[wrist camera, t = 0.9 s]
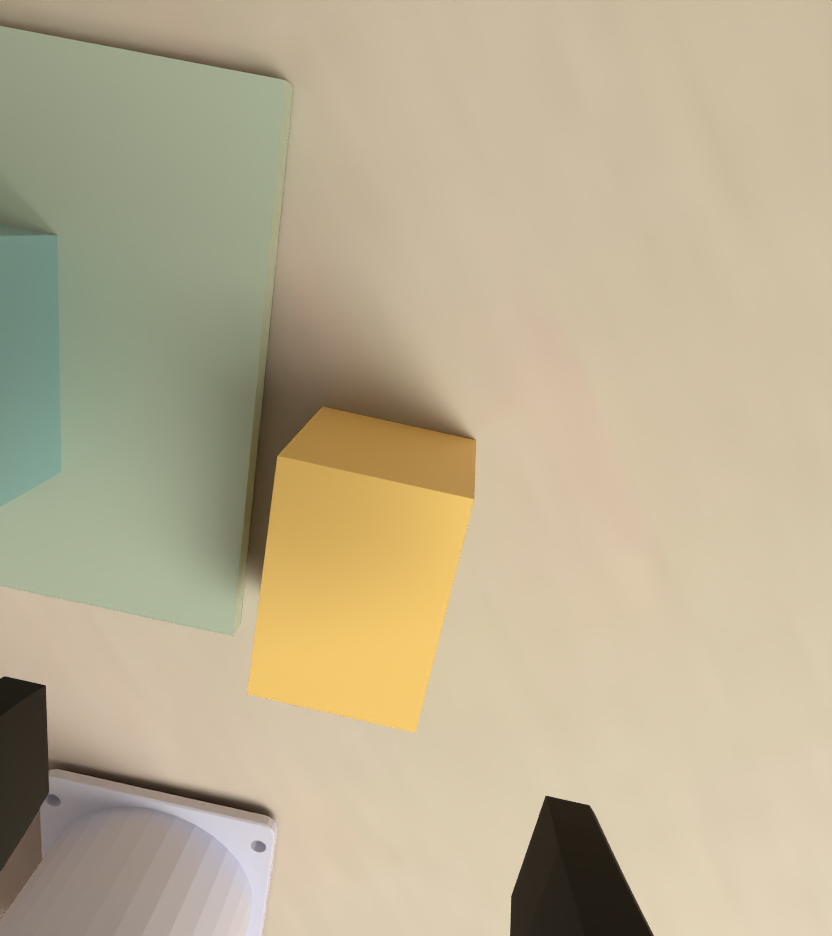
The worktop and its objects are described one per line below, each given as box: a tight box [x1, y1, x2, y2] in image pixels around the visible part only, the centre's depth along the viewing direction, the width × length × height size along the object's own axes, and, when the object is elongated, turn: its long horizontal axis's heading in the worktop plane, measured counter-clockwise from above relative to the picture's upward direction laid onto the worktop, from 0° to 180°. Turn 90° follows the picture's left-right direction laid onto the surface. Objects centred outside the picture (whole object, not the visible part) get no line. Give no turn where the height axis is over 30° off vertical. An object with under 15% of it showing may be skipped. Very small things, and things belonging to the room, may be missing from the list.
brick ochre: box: [247, 406, 476, 733], centre depth 16 cm, size 6×4×4 cm, turn 169°
